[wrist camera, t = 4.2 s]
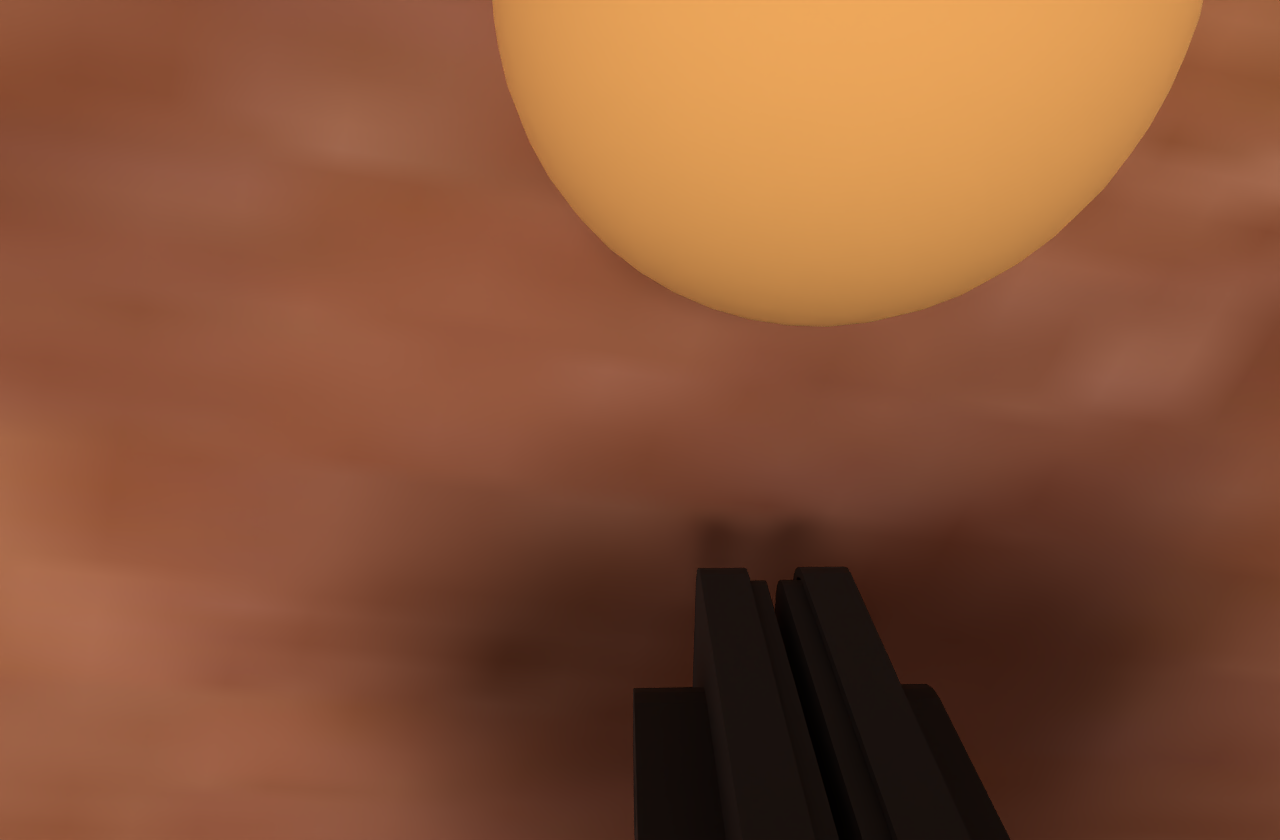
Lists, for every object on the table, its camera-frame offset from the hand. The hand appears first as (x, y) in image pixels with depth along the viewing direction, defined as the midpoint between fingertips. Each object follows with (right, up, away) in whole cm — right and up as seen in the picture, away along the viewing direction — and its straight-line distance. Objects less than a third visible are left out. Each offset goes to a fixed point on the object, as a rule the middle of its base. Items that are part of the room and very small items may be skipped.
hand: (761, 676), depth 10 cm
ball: (0, +6, -3) cm, 7 cm away
